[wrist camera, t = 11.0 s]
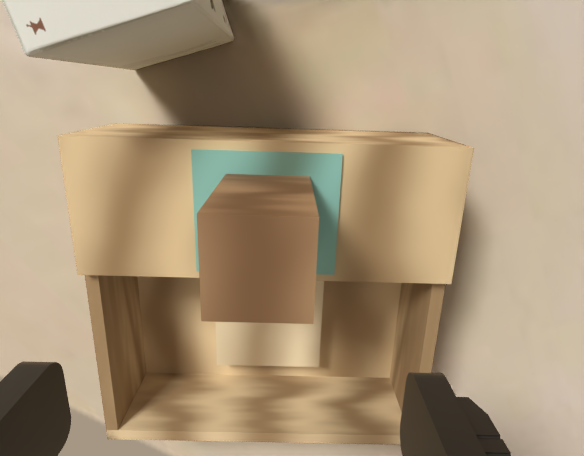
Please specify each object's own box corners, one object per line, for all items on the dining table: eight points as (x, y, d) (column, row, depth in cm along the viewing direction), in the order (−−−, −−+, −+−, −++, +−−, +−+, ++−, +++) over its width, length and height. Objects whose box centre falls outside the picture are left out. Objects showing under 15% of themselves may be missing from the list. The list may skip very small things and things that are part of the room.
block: (309, 176, 23) (319, 217, 15) (306, 253, 24) (313, 323, 17) (225, 173, 22) (196, 213, 15) (227, 251, 24) (201, 321, 17)
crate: (427, 132, 30) (475, 148, 22) (395, 379, 36) (423, 456, 29) (115, 123, 29) (55, 136, 22) (140, 374, 36) (101, 450, 28)
